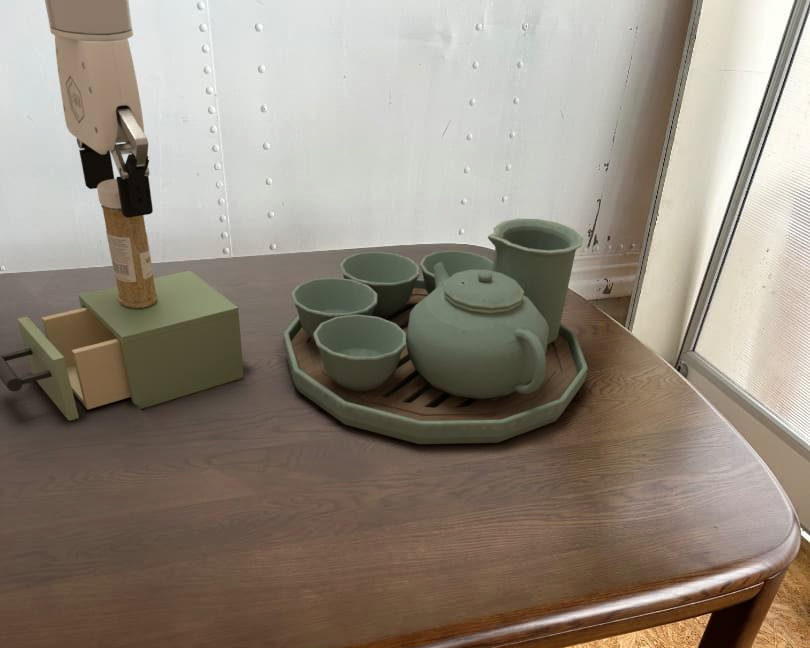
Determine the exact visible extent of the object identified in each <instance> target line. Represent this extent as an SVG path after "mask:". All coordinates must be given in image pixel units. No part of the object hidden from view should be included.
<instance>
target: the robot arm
mask: <svg viewBox="0 0 810 648" xmlns="http://www.w3.org/2000/svg"><path fill="white" fill-rule="evenodd" d="M44 3H45V9H46V12H47V19H48V24H49V30H50V33H51V34H52V35H54V45H55V56H56V57H55V59H56V65H57V72H58V73H57V74H58V80H59V81H58V82H59V87H60V95H61V101H62V107H63V114H64V121H65V124H66V128H67V130H68V132H69V133H70V134H71V135H72V136H74V137H75V138H76V144H77V146H78V148H79V149H78V152H79V158H80V162H81V167H82V173H83V179H84V184H85V187H87V188H88V189H90V190H94V189H97V186H98V184H99V183H101V182H103V181H106V180H110V179H117V184H118V191H119V197H120V203H121V210H122V214H123V215H124V216H125V217H126V218H130V217H136V216H142V215H143V216H147V215H151V214H152V213H153V211H154V209H153V208H154V207H153V202H152V201H153V200H152V193H151V186H150V185H151V184H150V179H149V176H150V168H149V164H150V163H149V162H150V159H149V158H150V157H149V156H148V153H149V140H148V137H147V135H146V134H145V126H144V119H143V118H144V117H143V110H142V104H141V97H140V92H139V86H138V82H137V76H136V75H137V74H136V70H135V65H134V61H133V56H132V51H131V47H130V43H129V38H132V37H133V36H134V33H133V31H134V30H133V25H132V16H131V9H130V8H131V7H130V1H129V0H44ZM123 155H127V157H126V160H124V157H123ZM112 159H113V161H114V165H115V166H116V169H117V171H118V174H119V176H116V177H115V174H114V167H113V161H112Z"/></svg>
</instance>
